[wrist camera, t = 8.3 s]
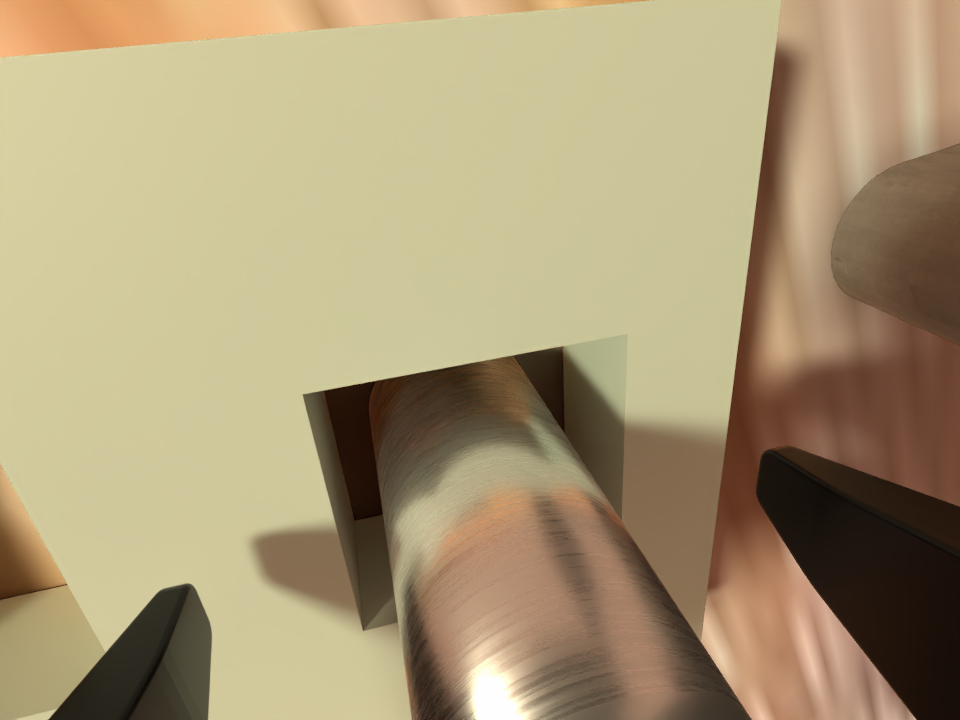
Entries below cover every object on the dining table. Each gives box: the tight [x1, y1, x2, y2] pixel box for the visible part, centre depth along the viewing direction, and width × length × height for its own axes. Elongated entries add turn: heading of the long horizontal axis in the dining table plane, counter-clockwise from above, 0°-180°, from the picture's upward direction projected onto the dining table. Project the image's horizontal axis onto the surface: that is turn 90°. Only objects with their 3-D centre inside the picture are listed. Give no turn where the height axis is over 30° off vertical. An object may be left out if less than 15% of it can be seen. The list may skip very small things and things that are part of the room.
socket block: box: [0, 0, 782, 720], centre depth 11 cm, size 18×14×3 cm
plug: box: [369, 355, 751, 720], centre depth 9 cm, size 3×3×8 cm
